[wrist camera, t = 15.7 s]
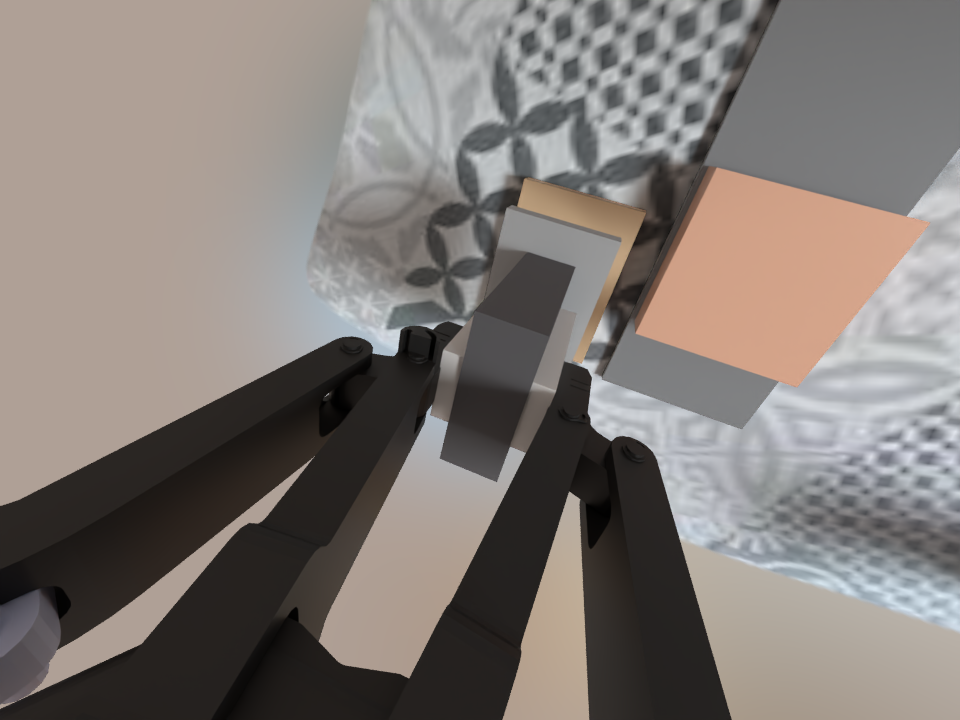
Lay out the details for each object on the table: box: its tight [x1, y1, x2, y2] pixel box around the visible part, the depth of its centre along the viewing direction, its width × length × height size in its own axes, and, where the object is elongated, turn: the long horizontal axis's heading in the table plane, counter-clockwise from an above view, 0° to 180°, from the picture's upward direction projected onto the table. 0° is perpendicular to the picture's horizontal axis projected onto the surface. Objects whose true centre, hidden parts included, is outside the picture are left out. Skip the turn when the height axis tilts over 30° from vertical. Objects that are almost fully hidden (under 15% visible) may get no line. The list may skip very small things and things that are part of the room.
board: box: [517, 177, 646, 364], centre depth 25 cm, size 10×7×1 cm
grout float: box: [440, 205, 621, 482], centre depth 16 cm, size 9×5×8 cm, turn 167°
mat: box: [602, 0, 960, 429], centre depth 21 cm, size 22×10×1 cm, turn 167°
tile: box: [635, 166, 930, 387], centre depth 21 cm, size 2×9×9 cm
